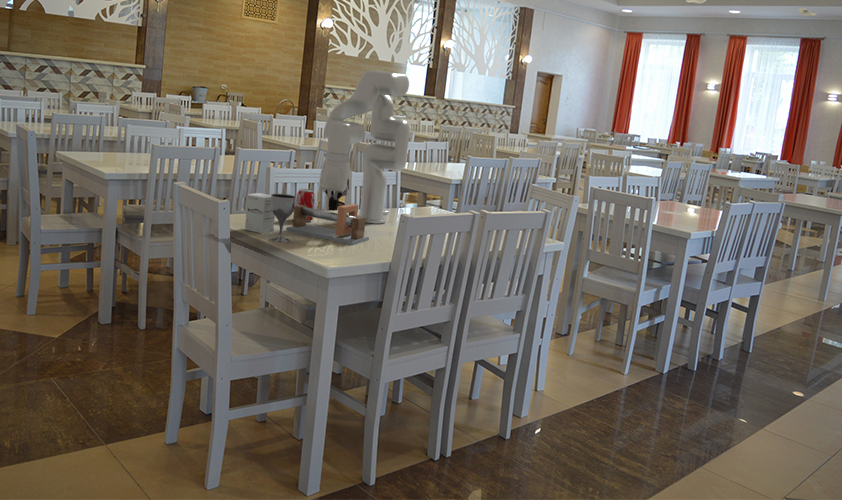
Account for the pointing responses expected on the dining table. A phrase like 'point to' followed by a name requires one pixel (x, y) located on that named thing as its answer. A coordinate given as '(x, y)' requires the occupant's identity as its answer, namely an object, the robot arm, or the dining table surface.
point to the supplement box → (259, 213)
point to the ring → (341, 219)
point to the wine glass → (282, 212)
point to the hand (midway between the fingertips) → (332, 209)
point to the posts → (357, 223)
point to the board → (325, 234)
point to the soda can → (306, 200)
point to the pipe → (324, 215)
